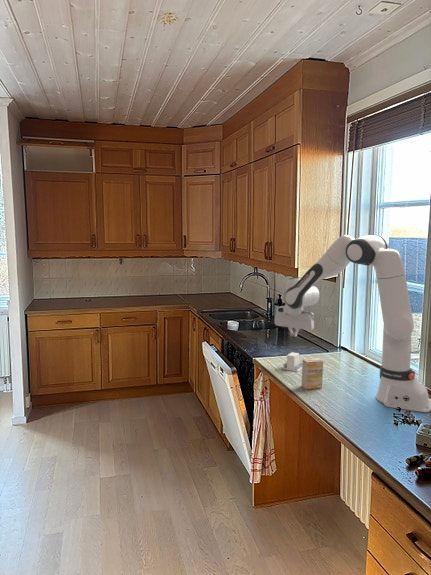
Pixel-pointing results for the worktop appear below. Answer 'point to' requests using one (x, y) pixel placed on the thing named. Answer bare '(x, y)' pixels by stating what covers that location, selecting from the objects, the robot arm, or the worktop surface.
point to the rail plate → (297, 368)
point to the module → (292, 360)
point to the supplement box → (312, 373)
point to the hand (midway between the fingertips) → (293, 336)
